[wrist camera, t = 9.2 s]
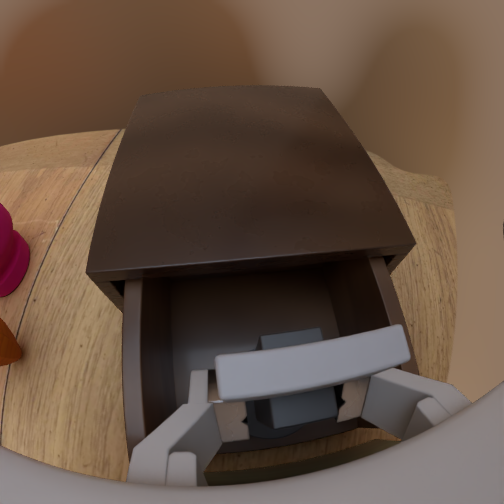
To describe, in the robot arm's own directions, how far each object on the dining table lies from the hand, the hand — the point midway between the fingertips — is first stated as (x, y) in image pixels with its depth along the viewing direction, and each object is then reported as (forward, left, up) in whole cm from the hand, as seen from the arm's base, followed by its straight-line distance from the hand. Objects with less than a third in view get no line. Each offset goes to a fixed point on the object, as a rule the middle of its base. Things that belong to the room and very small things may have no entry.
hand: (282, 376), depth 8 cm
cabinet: (0, -11, -8) cm, 14 cm away
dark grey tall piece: (0, 0, -6) cm, 6 cm away
